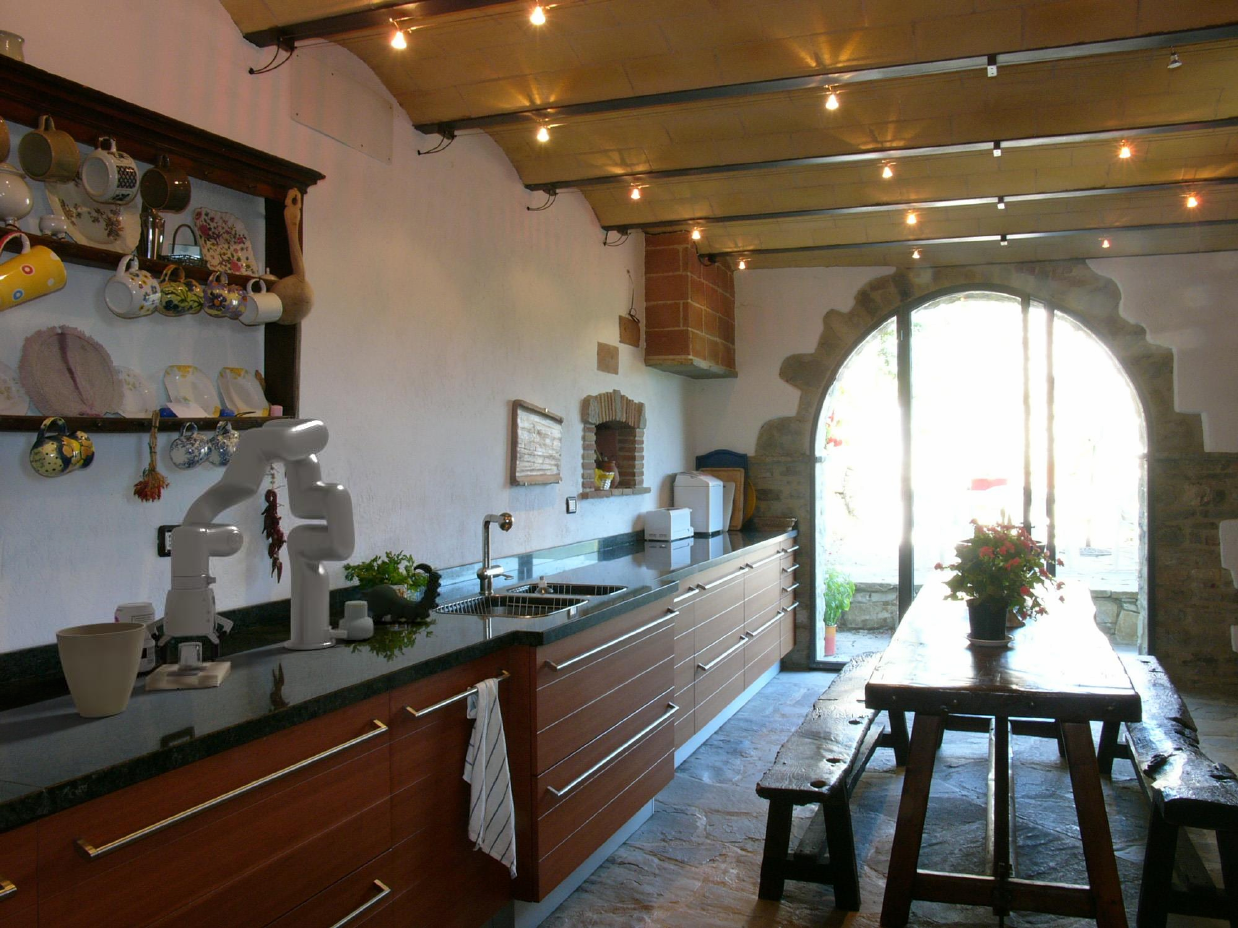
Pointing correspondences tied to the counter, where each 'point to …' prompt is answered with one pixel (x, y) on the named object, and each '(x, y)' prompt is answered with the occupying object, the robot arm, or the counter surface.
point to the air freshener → (356, 621)
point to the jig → (188, 676)
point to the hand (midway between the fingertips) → (190, 662)
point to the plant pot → (101, 664)
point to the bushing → (190, 656)
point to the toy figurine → (403, 600)
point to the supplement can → (145, 615)
